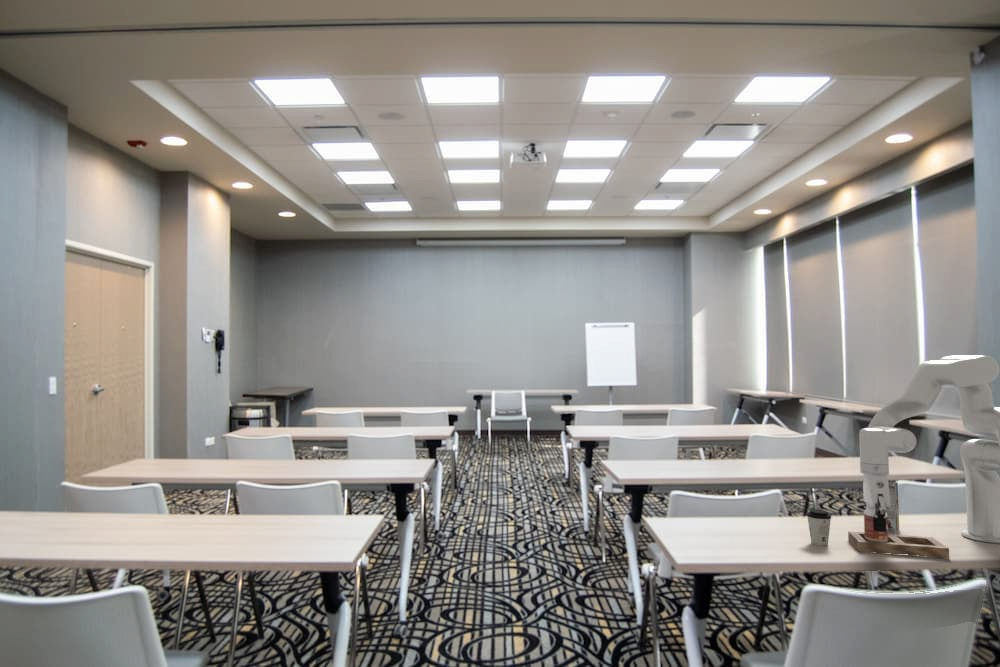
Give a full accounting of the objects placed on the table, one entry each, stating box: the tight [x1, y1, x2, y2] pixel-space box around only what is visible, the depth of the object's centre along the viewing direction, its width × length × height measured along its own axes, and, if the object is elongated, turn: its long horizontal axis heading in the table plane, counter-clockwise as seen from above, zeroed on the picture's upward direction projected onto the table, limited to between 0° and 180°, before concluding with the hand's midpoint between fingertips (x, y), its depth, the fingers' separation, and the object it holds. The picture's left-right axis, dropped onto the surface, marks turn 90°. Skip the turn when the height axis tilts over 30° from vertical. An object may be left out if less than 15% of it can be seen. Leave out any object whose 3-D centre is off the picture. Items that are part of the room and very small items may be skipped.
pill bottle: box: [863, 502, 888, 542], centre depth 184 cm, size 6×6×11 cm
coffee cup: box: [806, 508, 832, 546], centre depth 188 cm, size 7×7×10 cm
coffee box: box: [885, 481, 900, 535], centre depth 203 cm, size 9×6×16 cm
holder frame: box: [847, 531, 950, 559], centre depth 182 cm, size 23×12×3 cm, turn 74°
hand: (876, 527), depth 184 cm, fingers closed on pill bottle, 6 cm apart
